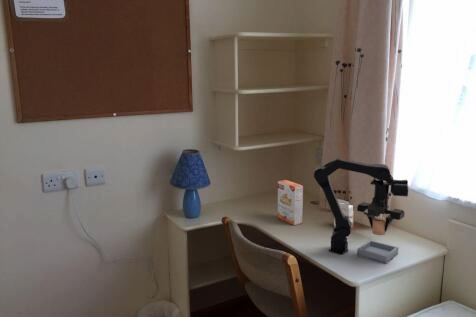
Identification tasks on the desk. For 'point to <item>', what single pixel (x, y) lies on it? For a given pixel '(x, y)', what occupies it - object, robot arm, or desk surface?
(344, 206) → the ink cartridge box
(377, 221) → the terracotta cup
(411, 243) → the desk surface
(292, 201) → the cracker box
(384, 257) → the tray
